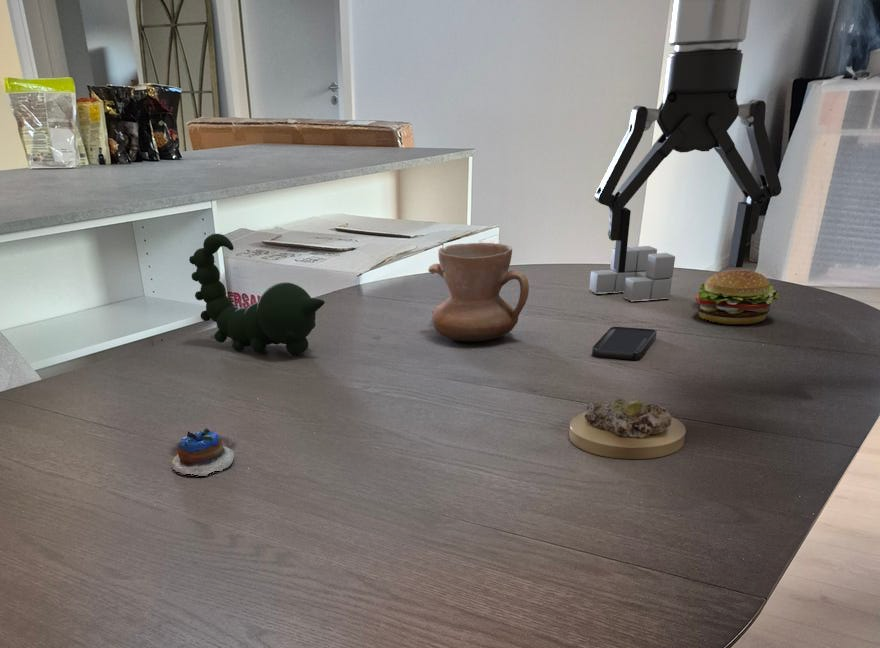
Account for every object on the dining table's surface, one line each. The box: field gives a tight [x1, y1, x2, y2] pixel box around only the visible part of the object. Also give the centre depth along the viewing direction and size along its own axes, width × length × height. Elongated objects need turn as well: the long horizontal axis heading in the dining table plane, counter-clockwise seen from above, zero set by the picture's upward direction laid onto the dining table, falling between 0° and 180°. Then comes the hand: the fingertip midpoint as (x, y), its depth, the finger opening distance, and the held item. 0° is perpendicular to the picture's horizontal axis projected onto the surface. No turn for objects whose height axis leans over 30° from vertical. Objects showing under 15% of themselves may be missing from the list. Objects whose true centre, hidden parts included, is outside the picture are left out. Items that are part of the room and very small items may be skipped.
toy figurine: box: [188, 233, 326, 356], centre depth 139 cm, size 9×19×25 cm
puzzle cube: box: [589, 245, 676, 300], centre depth 167 cm, size 12×12×8 cm
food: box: [695, 269, 780, 326], centre depth 150 cm, size 14×14×8 cm
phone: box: [591, 326, 658, 361], centre depth 139 cm, size 8×1×15 cm
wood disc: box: [568, 411, 687, 460], centre depth 105 cm, size 14×14×2 cm
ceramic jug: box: [427, 242, 530, 343], centre depth 143 cm, size 18×14×14 cm
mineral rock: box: [585, 398, 672, 438], centre depth 104 cm, size 11×4×8 cm
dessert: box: [171, 427, 235, 476], centre depth 102 cm, size 8×7×6 cm
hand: (676, 268), depth 100 cm, fingers open, 13 cm apart
